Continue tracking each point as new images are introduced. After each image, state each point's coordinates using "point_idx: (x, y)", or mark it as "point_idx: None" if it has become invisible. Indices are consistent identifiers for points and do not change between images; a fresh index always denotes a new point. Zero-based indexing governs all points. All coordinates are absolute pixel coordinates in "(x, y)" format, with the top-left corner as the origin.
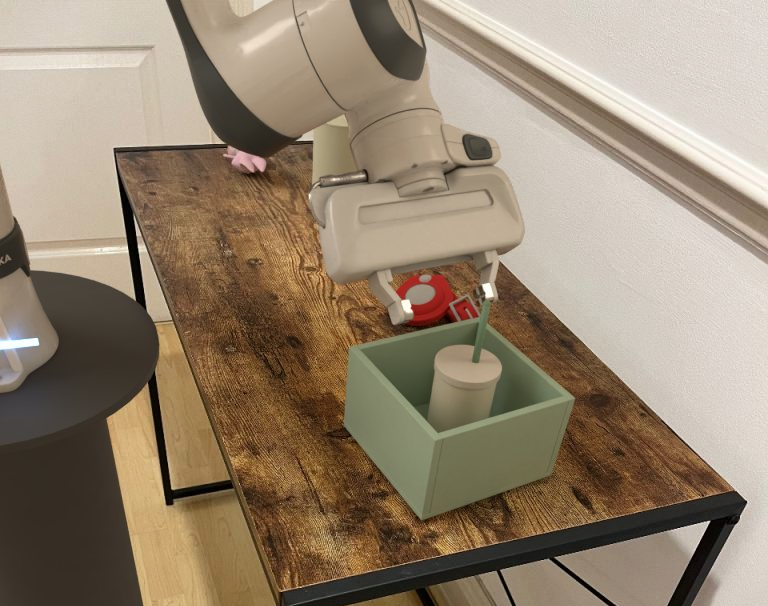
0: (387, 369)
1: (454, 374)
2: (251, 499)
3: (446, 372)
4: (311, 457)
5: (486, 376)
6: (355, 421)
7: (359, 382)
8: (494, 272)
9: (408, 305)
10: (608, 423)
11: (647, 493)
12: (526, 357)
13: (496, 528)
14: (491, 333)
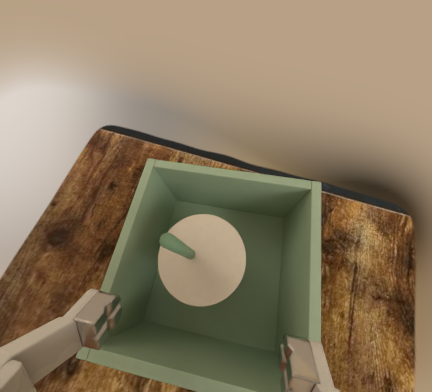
0: (244, 367)
1: (235, 247)
2: (412, 318)
3: (241, 256)
4: (335, 336)
5: (204, 221)
6: None
7: None
8: (37, 333)
9: (298, 360)
10: (83, 212)
11: (137, 151)
12: (121, 235)
13: None
14: None
